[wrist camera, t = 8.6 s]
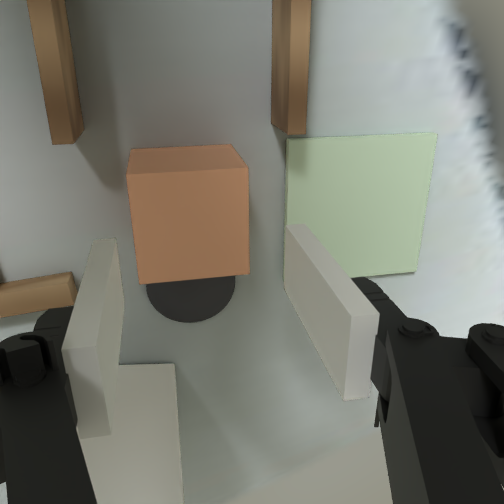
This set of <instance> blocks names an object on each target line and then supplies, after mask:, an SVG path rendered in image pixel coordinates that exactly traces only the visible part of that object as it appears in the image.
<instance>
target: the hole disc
mask: <svg viewBox="0 0 504 504" xmlns="http://www.w3.org/2000/svg"><path fill="white" fill-rule="evenodd" d="M234 287H235V275H234V276H223V277H213V278H202V279H192V280H181V281H171V282H160V283H150V284H146V288H147V294H148V297H149V300H150V301H151V303H152V305H153V306H154V307H155V309H156V310H157V311H158V312H160V313H161V314H162V315H164V316H165V317H167V318H169V319H172V320H175V321H179V322H198V321H202V320H206V319H208V318H210V317H212V316H214V315H216V314H217V313H219V312H220V311H221V310H222V309H223V308H224V307H225V306H226V305H227V304H228V302H229V301H230V299H231V297H232V295H233V292H234Z"/></svg>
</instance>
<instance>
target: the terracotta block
mask: <svg viewBox="0 0 504 504" xmlns="http://www.w3.org/2000/svg"><path fill="white" fill-rule="evenodd" d="M126 179H127V188H128V196H129V204H130V212H131V220H132V228H133V237H134V245H135V253H136V261H137V269H138V277H139V284H150V283H160V282H171V281H181V280H192V279H202V278H213V277H223V276H234V275H244V274H250V258H249V174H248V166H247V165H246V164H245V162H244V161H243V160H242V158H241V157H240V156H239V154H238V153H237V152H236V150H235V149H234V148H233V146H232V145H231V144H225V145H204V146H183V147H162V148H141V149H131V152H130V157H129V162H128V167H127V172H126Z"/></svg>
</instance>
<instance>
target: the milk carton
mask: <svg viewBox="0 0 504 504" xmlns="http://www.w3.org/2000/svg"><path fill="white" fill-rule="evenodd" d="M76 430H77V433H78V437H79V432H78V427H76ZM79 440H80V444H81V448H82V451H83V455H84V458H85V462H86V465H87V469H88V472H89V476H90V479H91V483H92V486H93V490H94V493H95V497H96V500H97V504H184V492H183V478H182V463H181V449H180V434H179V420H178V406H177V391H176V377H175V365H174V364H173V363H172V364H136V365H119V366H118V375H117V385H116V394H115V404H114V413H113V423H112V433H111V435H107V436H101V437H94V438H87V439H80V437H79Z"/></svg>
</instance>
